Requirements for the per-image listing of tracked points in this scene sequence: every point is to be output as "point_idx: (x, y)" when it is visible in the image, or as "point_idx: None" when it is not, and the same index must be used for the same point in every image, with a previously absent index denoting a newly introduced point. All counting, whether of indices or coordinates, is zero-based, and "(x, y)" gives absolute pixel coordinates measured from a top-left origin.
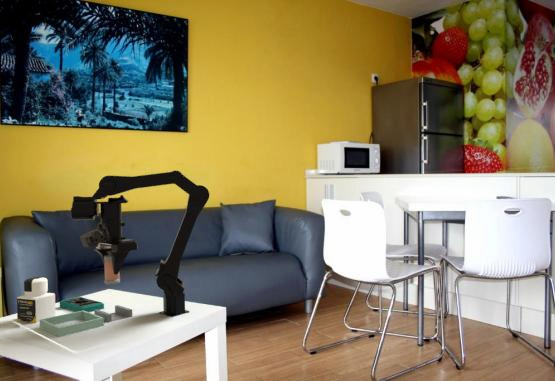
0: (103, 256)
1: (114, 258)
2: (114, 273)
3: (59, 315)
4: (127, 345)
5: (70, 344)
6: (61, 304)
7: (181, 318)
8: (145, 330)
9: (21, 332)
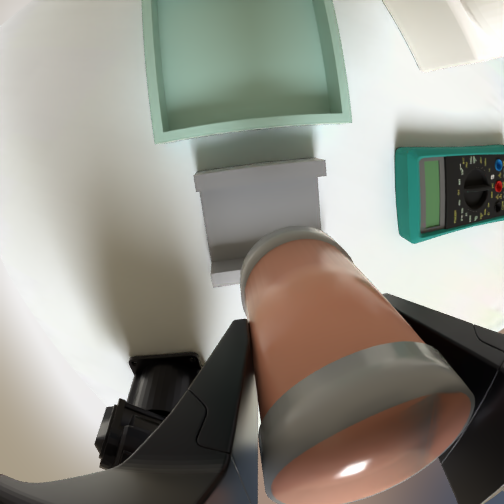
0: (490, 368)
1: (140, 449)
2: (234, 322)
3: (336, 25)
4: None
5: (65, 22)
6: (501, 146)
7: (113, 369)
8: (48, 247)
9: None
